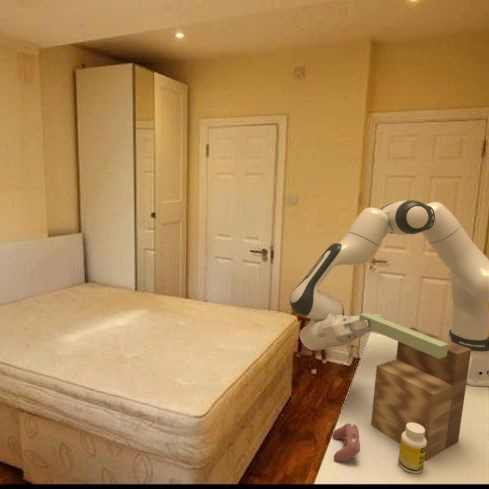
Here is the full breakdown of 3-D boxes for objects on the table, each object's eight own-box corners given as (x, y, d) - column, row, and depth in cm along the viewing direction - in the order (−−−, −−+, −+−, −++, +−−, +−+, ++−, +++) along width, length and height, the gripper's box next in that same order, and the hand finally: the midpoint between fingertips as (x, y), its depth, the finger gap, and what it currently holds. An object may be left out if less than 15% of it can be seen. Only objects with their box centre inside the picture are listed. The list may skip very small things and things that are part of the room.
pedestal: (371, 424, 107) (379, 336, 103) (403, 409, 115) (412, 327, 111) (425, 460, 94) (437, 361, 90) (458, 441, 102) (471, 349, 97)
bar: (358, 324, 112) (359, 314, 111) (366, 322, 114) (366, 312, 113) (439, 358, 92) (440, 346, 92) (446, 356, 94) (448, 344, 93)
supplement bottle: (421, 478, 89) (426, 438, 87) (395, 468, 91) (400, 429, 90) (425, 463, 93) (429, 425, 91) (400, 454, 96) (404, 417, 94)
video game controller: (349, 470, 92) (365, 448, 91) (332, 460, 92) (348, 437, 91) (346, 443, 102) (361, 422, 100) (330, 433, 102) (345, 413, 100)
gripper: (310, 325, 116) (343, 315, 105) (359, 315, 127) (393, 305, 116) (316, 347, 114) (350, 339, 103) (365, 334, 125) (400, 326, 114)
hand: (373, 321), depth 109 cm, fingers closed on bar, 3 cm apart
